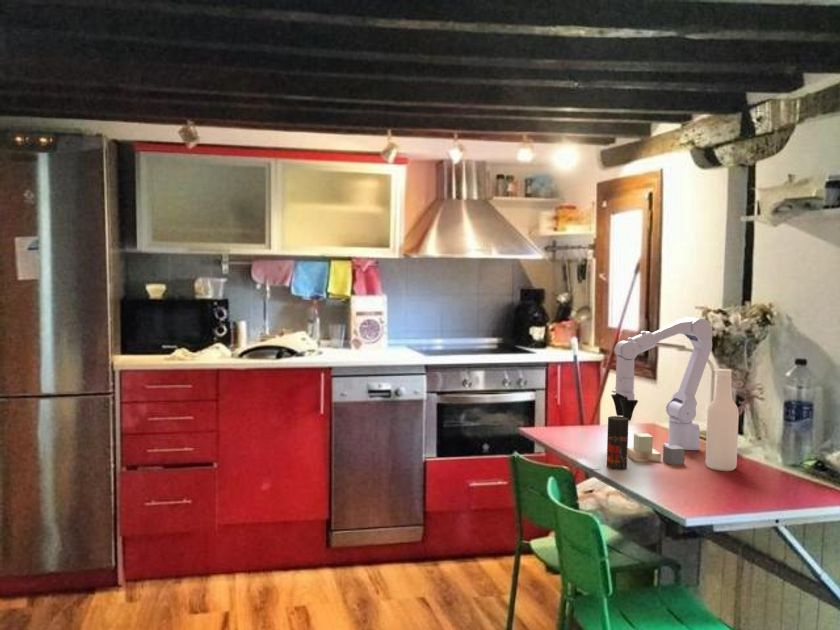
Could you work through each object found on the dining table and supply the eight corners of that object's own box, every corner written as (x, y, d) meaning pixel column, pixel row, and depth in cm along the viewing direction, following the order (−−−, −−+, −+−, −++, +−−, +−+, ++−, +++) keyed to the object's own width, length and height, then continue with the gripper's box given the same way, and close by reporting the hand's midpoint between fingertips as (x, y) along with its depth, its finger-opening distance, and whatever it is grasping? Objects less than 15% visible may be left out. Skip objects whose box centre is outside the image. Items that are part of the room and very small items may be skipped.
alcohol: (699, 466, 233) (702, 368, 231) (716, 462, 237) (720, 366, 235) (724, 473, 225) (728, 372, 223) (742, 468, 230) (746, 370, 228)
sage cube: (647, 449, 244) (647, 433, 243) (652, 452, 239) (652, 436, 239) (633, 448, 243) (634, 433, 243) (638, 452, 239) (638, 436, 239)
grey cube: (675, 460, 239) (675, 445, 239) (684, 464, 235) (684, 448, 234) (662, 461, 238) (663, 445, 237) (671, 465, 233) (672, 449, 233)
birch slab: (651, 455, 246) (651, 447, 245) (660, 461, 238) (660, 453, 237) (627, 454, 245) (627, 447, 245) (635, 461, 237) (635, 453, 237)
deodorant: (604, 464, 233) (605, 416, 232) (623, 464, 233) (625, 416, 232) (609, 469, 227) (610, 420, 226) (629, 470, 227) (630, 420, 226)
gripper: (606, 374, 259) (605, 413, 260) (619, 380, 244) (618, 422, 245) (627, 374, 259) (625, 413, 260) (641, 380, 245) (639, 422, 245)
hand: (623, 418), depth 253 cm, fingers open, 7 cm apart
